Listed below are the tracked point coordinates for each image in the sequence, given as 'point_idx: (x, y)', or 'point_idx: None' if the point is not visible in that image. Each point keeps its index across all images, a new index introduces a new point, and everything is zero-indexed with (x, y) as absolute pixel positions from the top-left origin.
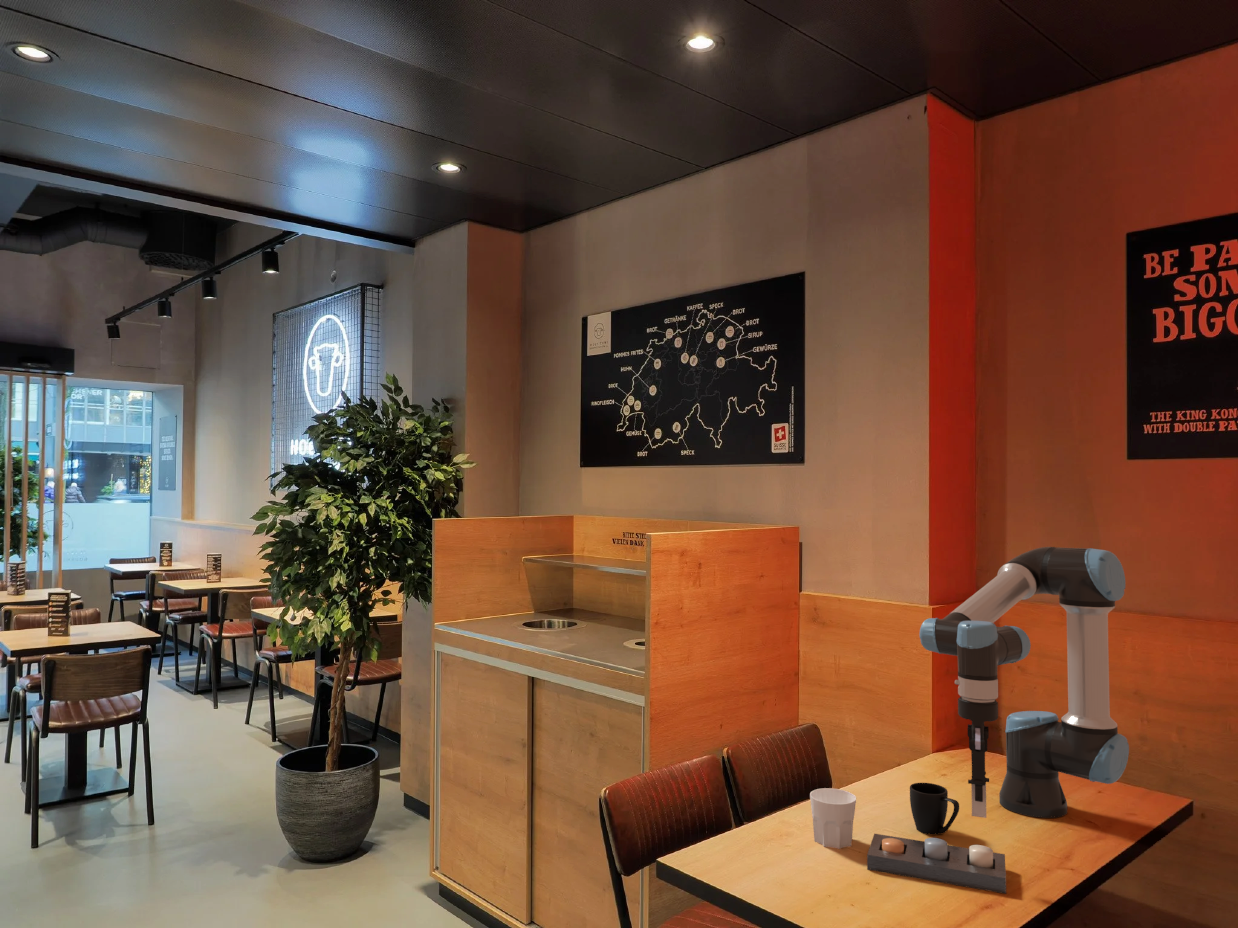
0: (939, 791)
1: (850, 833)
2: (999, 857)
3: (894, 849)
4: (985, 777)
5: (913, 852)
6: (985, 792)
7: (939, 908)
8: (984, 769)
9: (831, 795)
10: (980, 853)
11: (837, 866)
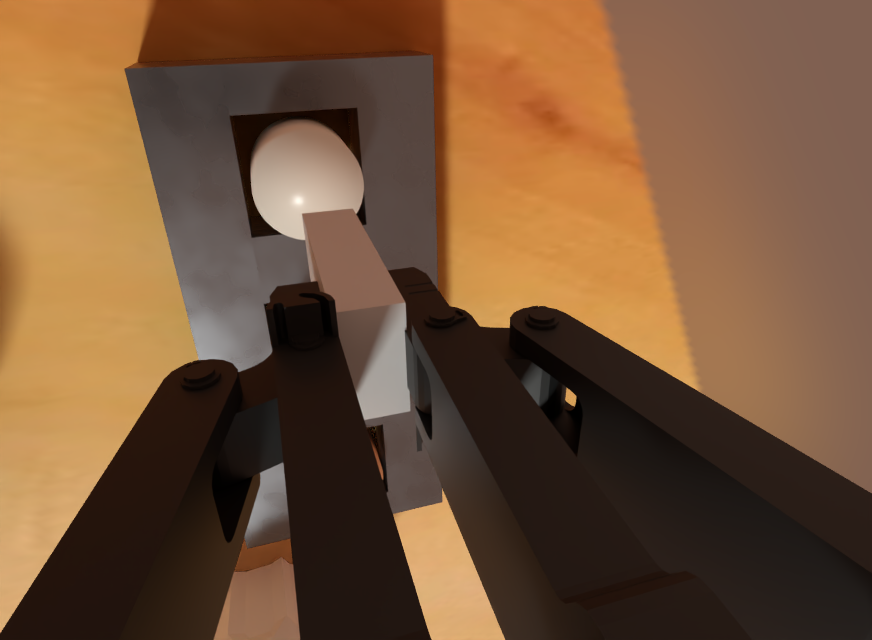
0: None
1: (287, 591)
2: (192, 94)
3: (378, 459)
4: (314, 343)
5: None
6: (387, 277)
7: (603, 250)
8: (696, 393)
9: None
10: (363, 184)
11: (445, 526)
